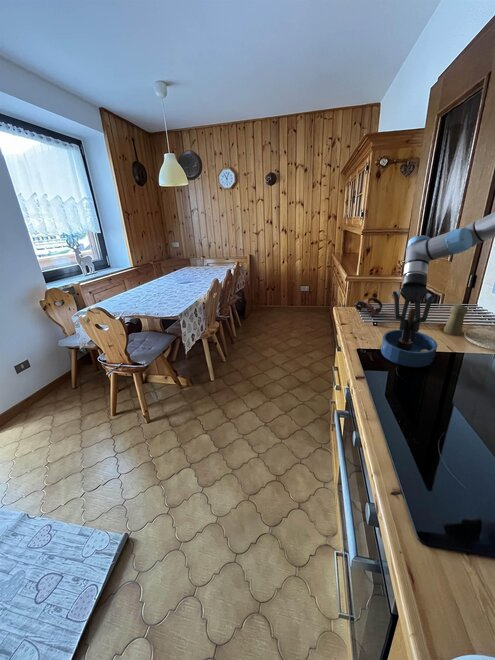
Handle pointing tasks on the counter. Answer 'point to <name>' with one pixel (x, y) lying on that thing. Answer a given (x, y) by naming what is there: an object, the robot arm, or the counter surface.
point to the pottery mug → (369, 306)
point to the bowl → (412, 356)
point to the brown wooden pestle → (407, 332)
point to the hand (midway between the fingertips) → (407, 339)
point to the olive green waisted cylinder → (455, 320)
